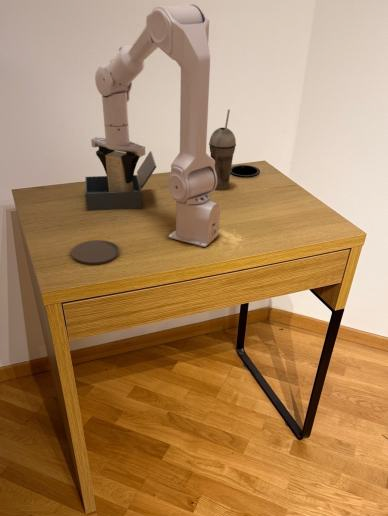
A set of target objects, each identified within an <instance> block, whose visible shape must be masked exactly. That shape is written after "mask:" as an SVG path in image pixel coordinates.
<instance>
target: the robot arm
mask: <svg viewBox="0 0 388 516" xmlns="http://www.w3.org/2000/svg"><path fill="white" fill-rule="evenodd" d="M145 21H146V22H145V26H144V27H143V29H142V30H141V32H140V34H139V35H138V36H137V38H136V39H135V40H134V42H133V43H132V45H130V44H128V45H120V47H119V48H118V53H117V54H116V55H115V56H114V58H112V59H110V61H109V64H108V65H107V66H99V67H97V69H96V72H95V75H94V76H95V77H94V79H95V80H94V82H95V86H96V89H97V91H98V93H99V94H100V95H101V99H102V100H101V101H102V113H103V114H102V115H103V123H104V126H103V127H104V134H105V135H104V136H105V137H98V136H95V137H93V138H91V140H90V141H91V147H92V148H98V150H96V151H95V155H96V157H98V159H99V160H100V163H101V164H102V167H103V169H104V172H105V176H107V167H106V157H105V155H107V154H109V153H111V152H114V151H119V152H124V153H126V154H125V155H123V156H121V159H122V162H123V165H124V169H125V180H126V183H130V182H132V181H133V176H134V175H135V170H136V167H137V164H138V163H139V160H140V158H141V157H143V156H146V146H145V145H141V144H139V143H135V142H133V141H131V140H130V129H129V128H130V127H129V108H128V102H129V101H130V93H131V90H132V86H133V81H135V80H136V78H137V77H138V76H139V75H140V74H141V73H142V72H143V71H144V68H145V64H146V62H145V61H146V59H148V57H149V56H150V55H152V54H153V53H154V52H155V51H156V50H157V49H160V50H161V51H162V52H163V53H164V54H166V56H168V57H169V58H170V59H171V60H173V61H175V63H177V65H178V66H179V68H180V97H179V99H180V105H179V109H180V110H179V111H180V112H179V113H180V114H179V119H180V120H179V152H178V154H177V156H176V157H175V158H174V160H173V161H172V163H170V174H169V176H168V179H167V187H168V191H169V194H170V196H171V198H173V200H174V201H175V202H176V203H175V230H174V231H172V232H171V233H170V234H169V235H168V239H173V240H177V241H179V242H183V243H187V244H191V245H195V246H199V247H203V248H206V247H208V245H209V244H210V243H211V242H212V241H214V240H215V239H216V238H217V237H218V236H219V235H220V231H219V229H220V215H221V209H220V205H219V203H217V202H214V201H213V200H211V198H212V193H213V192H214V191H215V190H216V189H215V188H216V186H217V175H216V171H215V160H214V159H213V158H212V157H211V155H209V154H208V153H207V140H208V119H209V118H208V117H209V95H210V73H211V72H210V71H211V54H210V47H209V35H210V19H209V17H208V16H207V15H206V14H205V12H204V10H203V9H202V8H201V6H199V4H194V3H193V4H189V5H174V6H163V5H156V6H155V7H153V9H152V10H151V11H150V13H148V15H146V20H145ZM107 178H108V176H107Z"/></svg>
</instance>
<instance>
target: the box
mask: <svg viewBox="0 0 388 516" xmlns="http://www.w3.org/2000/svg"><path fill="white" fill-rule="evenodd" d="M125 154H126V153H125V152H120V151H114V152H111V153H109V154H107V155H105V157H106V167H107V175H106V176H108V186H109V192H131V191H133V181H132V182H130V183H126V180H125V169H124V165H123V162H122V159H121V156H123V155H125Z"/></svg>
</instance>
